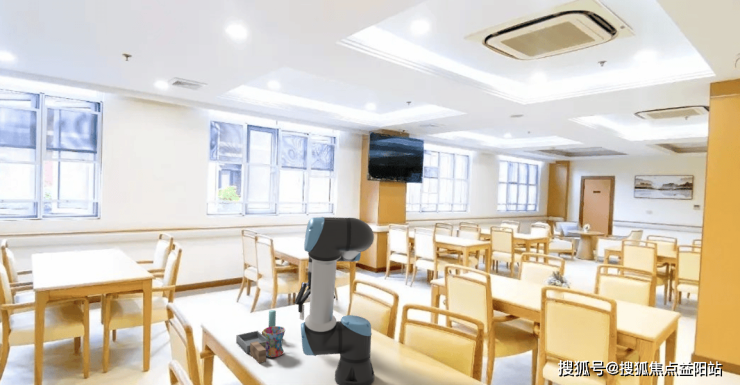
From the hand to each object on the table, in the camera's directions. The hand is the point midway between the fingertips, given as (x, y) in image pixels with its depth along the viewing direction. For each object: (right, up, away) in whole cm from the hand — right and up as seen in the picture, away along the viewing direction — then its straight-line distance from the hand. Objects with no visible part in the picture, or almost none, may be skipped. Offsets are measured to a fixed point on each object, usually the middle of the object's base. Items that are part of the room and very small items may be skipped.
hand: (315, 316), depth 177 cm
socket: (-21, -12, +5) cm, 25 cm away
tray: (-28, -12, -4) cm, 31 cm away
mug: (-16, -13, -10) cm, 23 cm away
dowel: (-21, -12, +5) cm, 25 cm away
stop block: (-22, -12, -16) cm, 30 cm away
